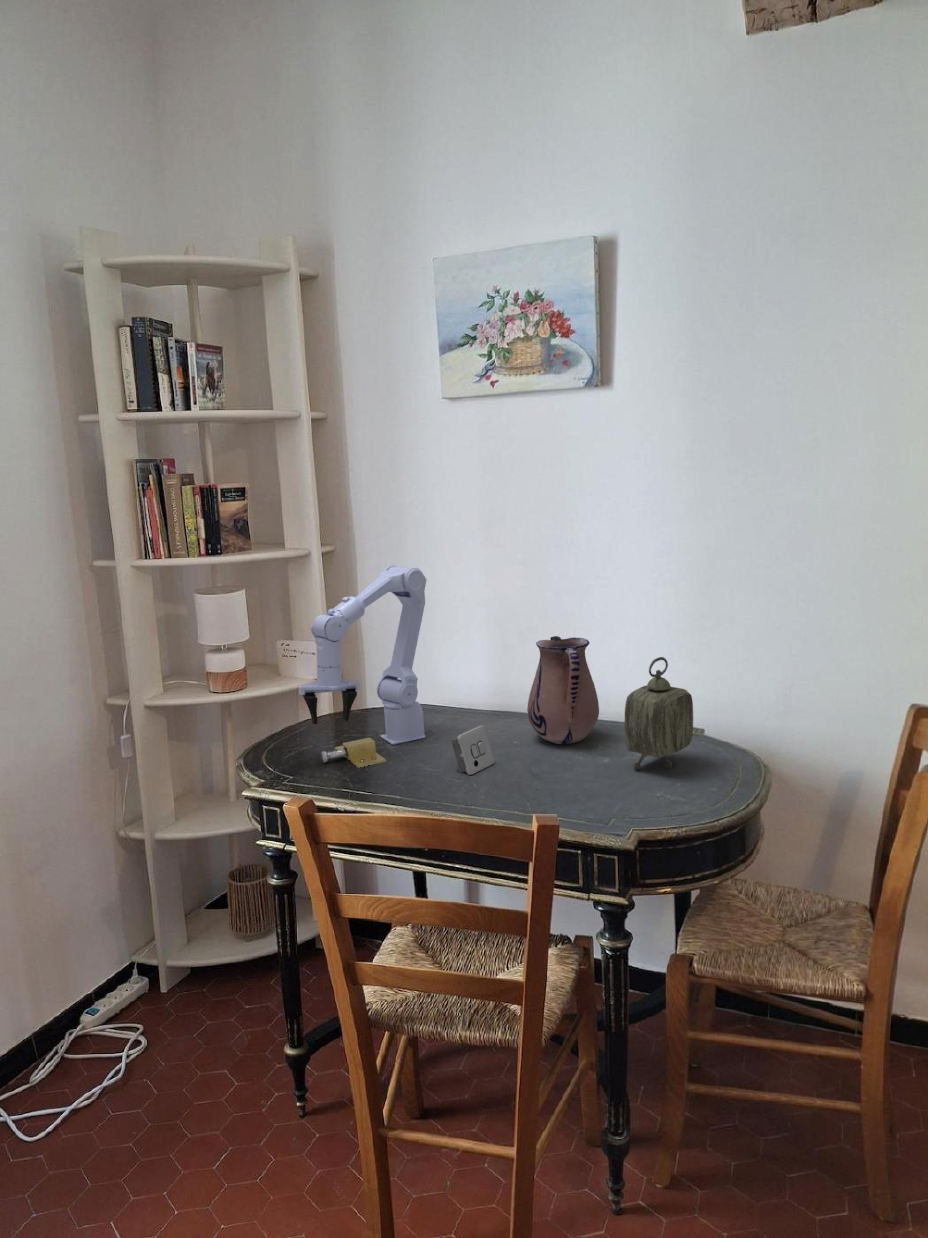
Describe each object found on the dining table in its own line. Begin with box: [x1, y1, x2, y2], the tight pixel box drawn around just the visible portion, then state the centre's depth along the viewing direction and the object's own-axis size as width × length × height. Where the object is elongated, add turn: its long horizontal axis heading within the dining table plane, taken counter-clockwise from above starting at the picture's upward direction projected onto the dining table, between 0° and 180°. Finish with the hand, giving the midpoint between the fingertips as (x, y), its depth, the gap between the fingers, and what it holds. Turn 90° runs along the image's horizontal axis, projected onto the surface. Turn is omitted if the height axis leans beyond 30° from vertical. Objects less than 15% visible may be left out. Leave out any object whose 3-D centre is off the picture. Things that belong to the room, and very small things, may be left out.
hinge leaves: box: [334, 737, 387, 769], centre depth 223 cm, size 7×16×3 cm, turn 28°
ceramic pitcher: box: [527, 635, 600, 745], centre depth 224 cm, size 18×21×25 cm
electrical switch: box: [450, 725, 495, 776], centre depth 210 cm, size 9×5×9 cm, turn 141°
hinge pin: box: [321, 749, 348, 763], centre depth 221 cm, size 9×3×3 cm, turn 118°
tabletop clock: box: [623, 656, 694, 771], centre depth 203 cm, size 14×9×25 cm, turn 135°
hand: (330, 721), depth 219 cm, fingers open, 7 cm apart
